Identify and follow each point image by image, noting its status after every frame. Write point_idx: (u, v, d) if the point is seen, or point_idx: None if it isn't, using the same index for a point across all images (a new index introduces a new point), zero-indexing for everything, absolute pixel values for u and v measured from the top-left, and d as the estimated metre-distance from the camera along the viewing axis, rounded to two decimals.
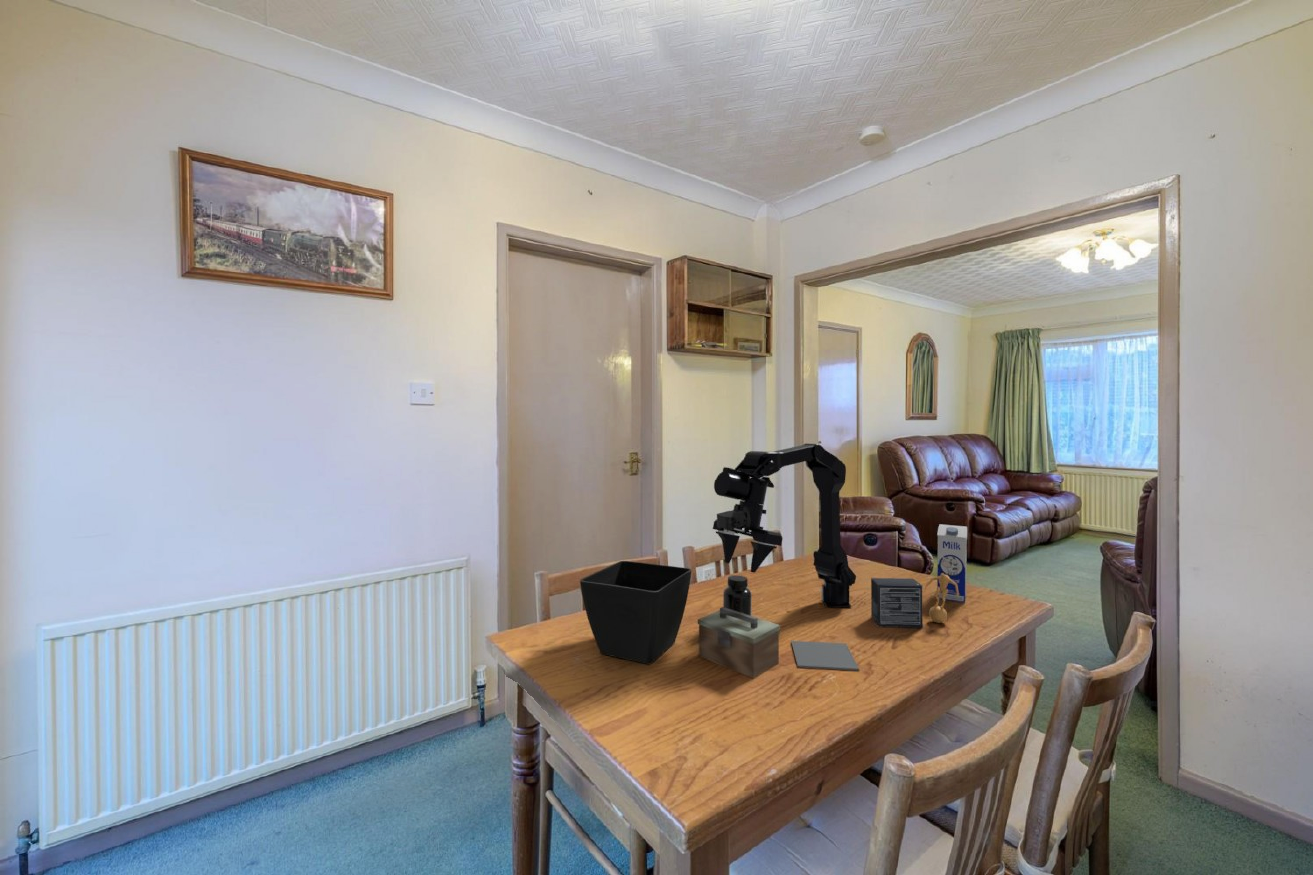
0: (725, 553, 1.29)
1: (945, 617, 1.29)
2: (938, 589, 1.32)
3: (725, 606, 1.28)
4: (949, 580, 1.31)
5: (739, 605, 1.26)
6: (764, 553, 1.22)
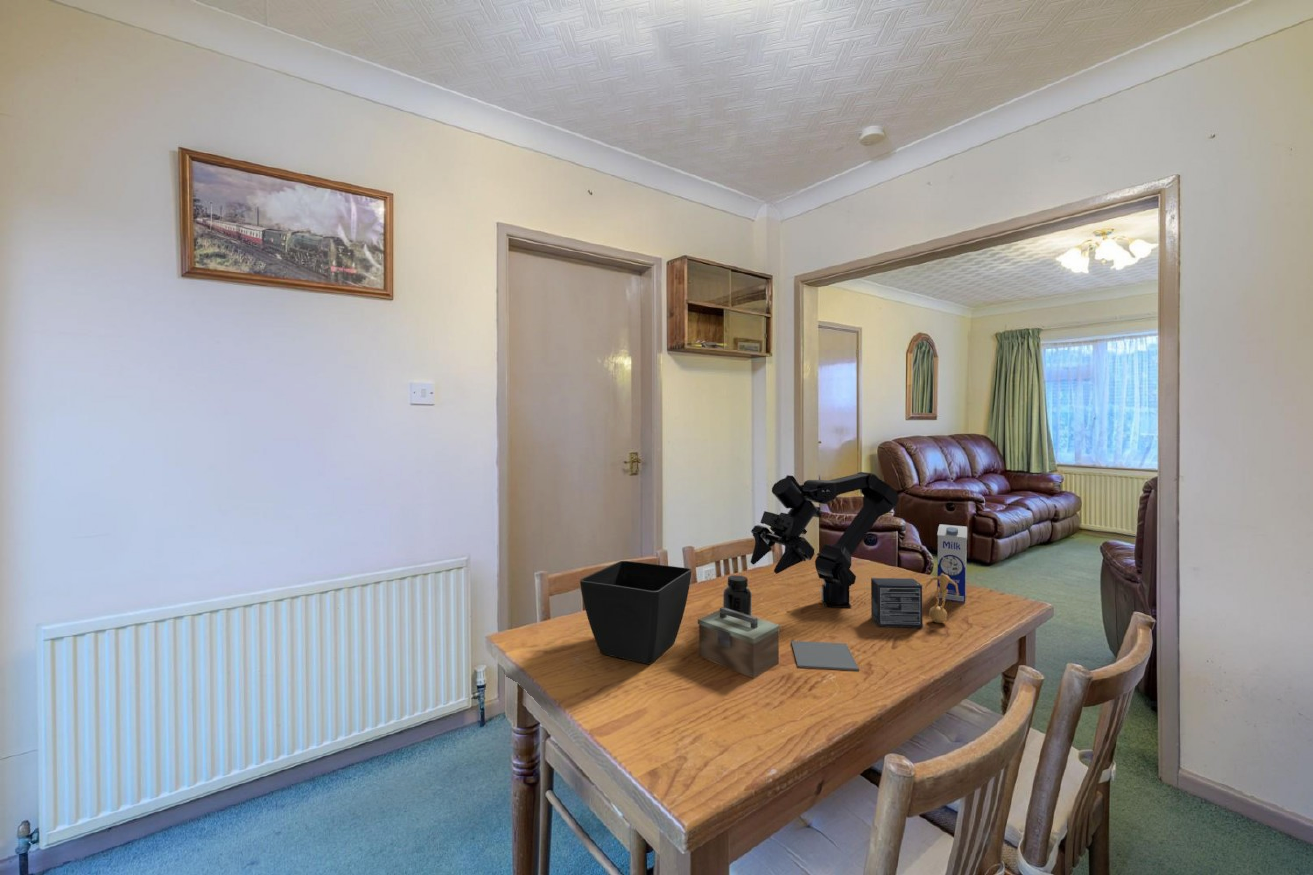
0: (754, 554, 1.37)
1: (945, 617, 1.29)
2: (938, 589, 1.32)
3: (725, 606, 1.28)
4: (949, 580, 1.31)
5: (739, 605, 1.26)
6: (792, 561, 1.29)
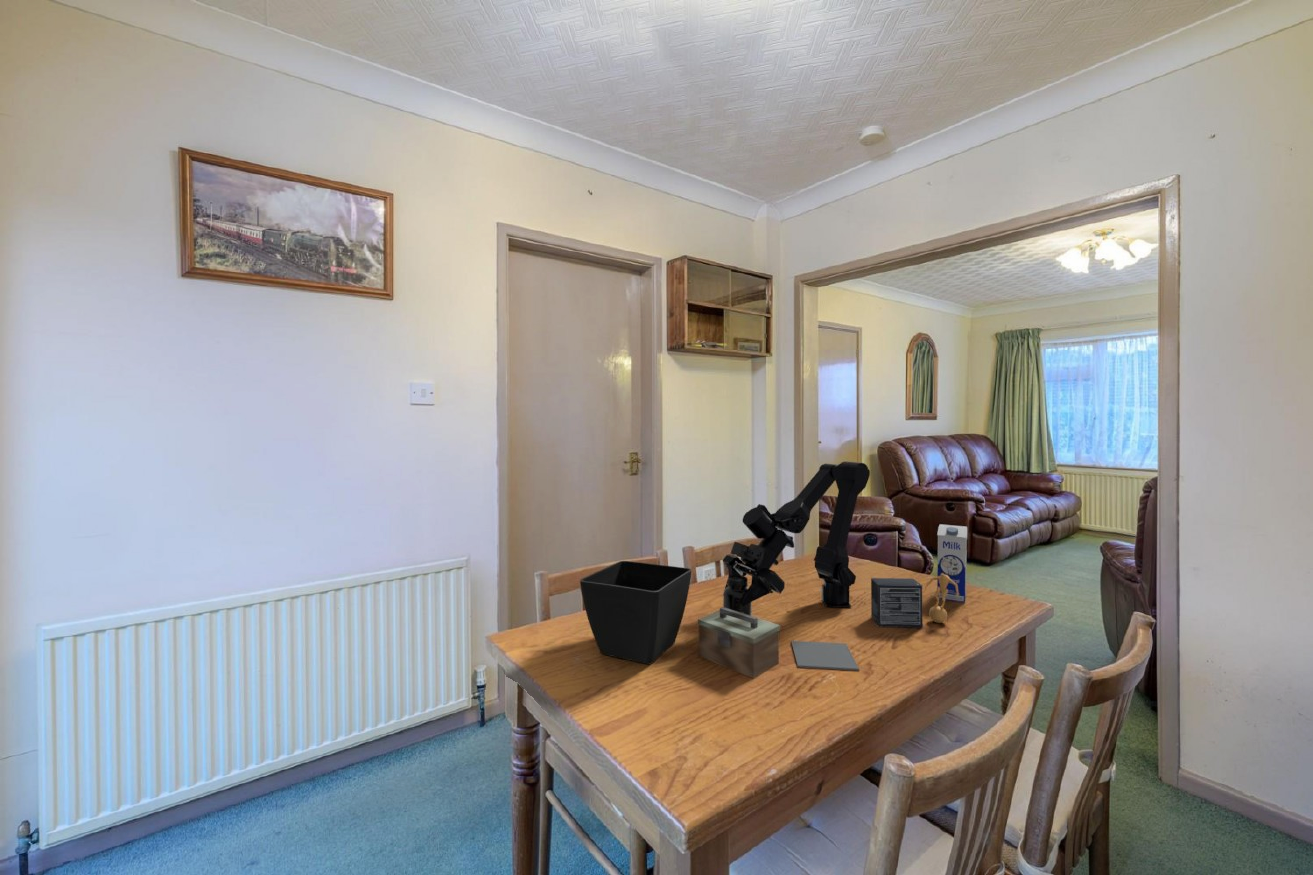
0: (726, 586, 1.32)
1: (945, 617, 1.29)
2: (938, 589, 1.32)
3: (725, 606, 1.28)
4: (949, 580, 1.31)
5: (739, 605, 1.26)
6: (759, 593, 1.26)
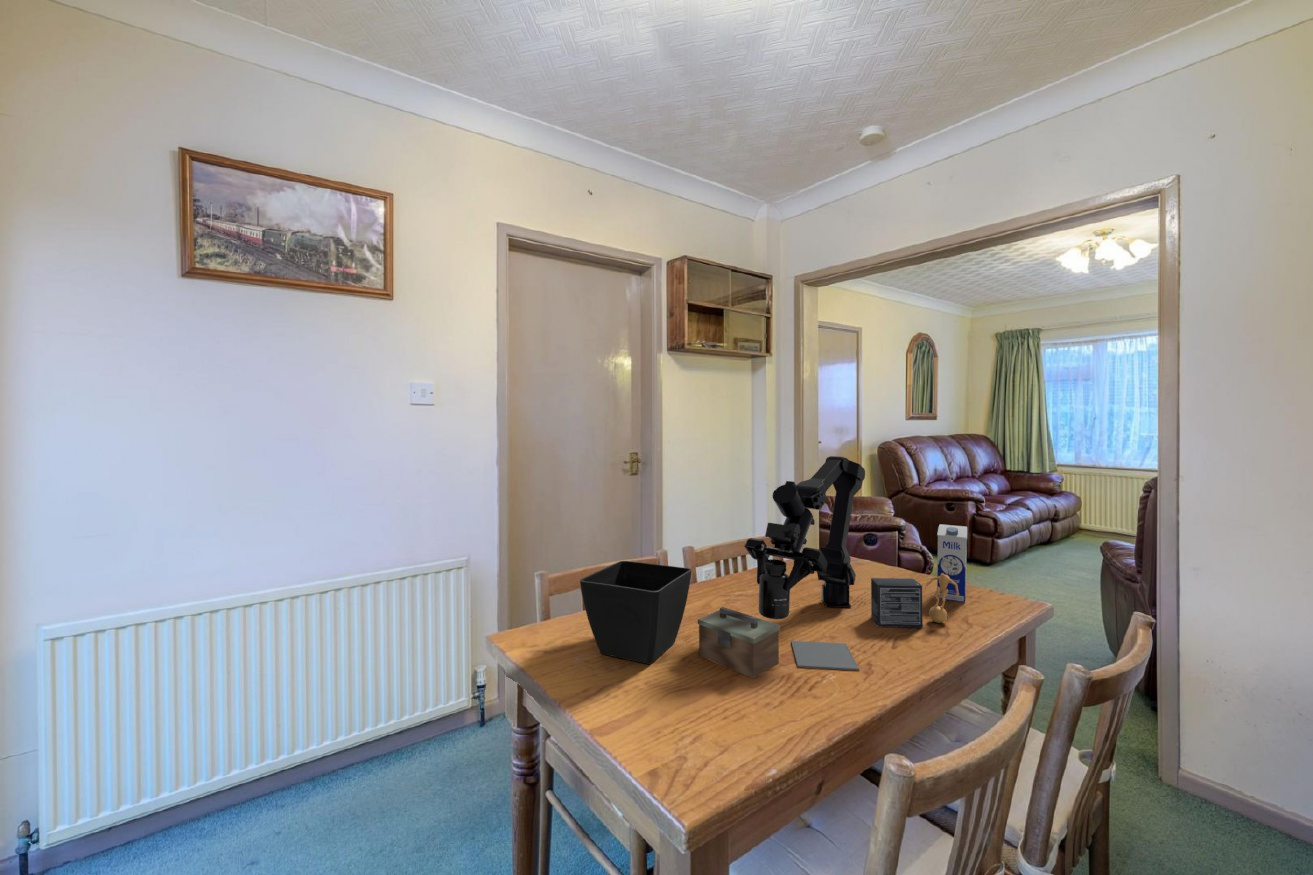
0: (759, 572, 1.21)
1: (945, 617, 1.29)
2: (938, 589, 1.32)
3: (766, 594, 1.17)
4: (949, 580, 1.31)
5: (783, 591, 1.16)
6: (801, 575, 1.18)
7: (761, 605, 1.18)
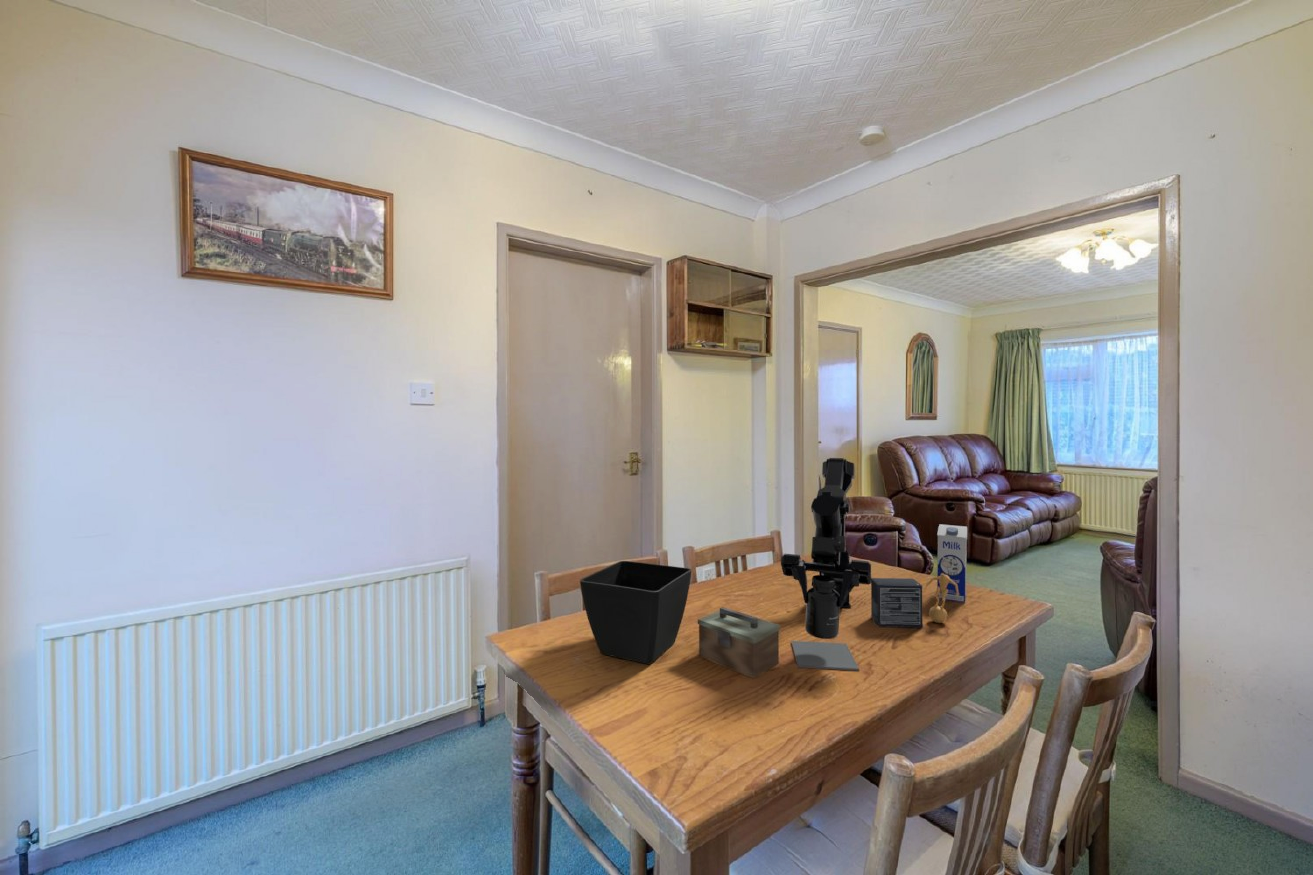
0: (805, 590, 1.14)
1: (945, 617, 1.29)
2: (938, 589, 1.32)
3: (820, 613, 1.10)
4: (949, 580, 1.31)
5: (837, 608, 1.10)
6: (848, 589, 1.13)
7: (813, 625, 1.11)
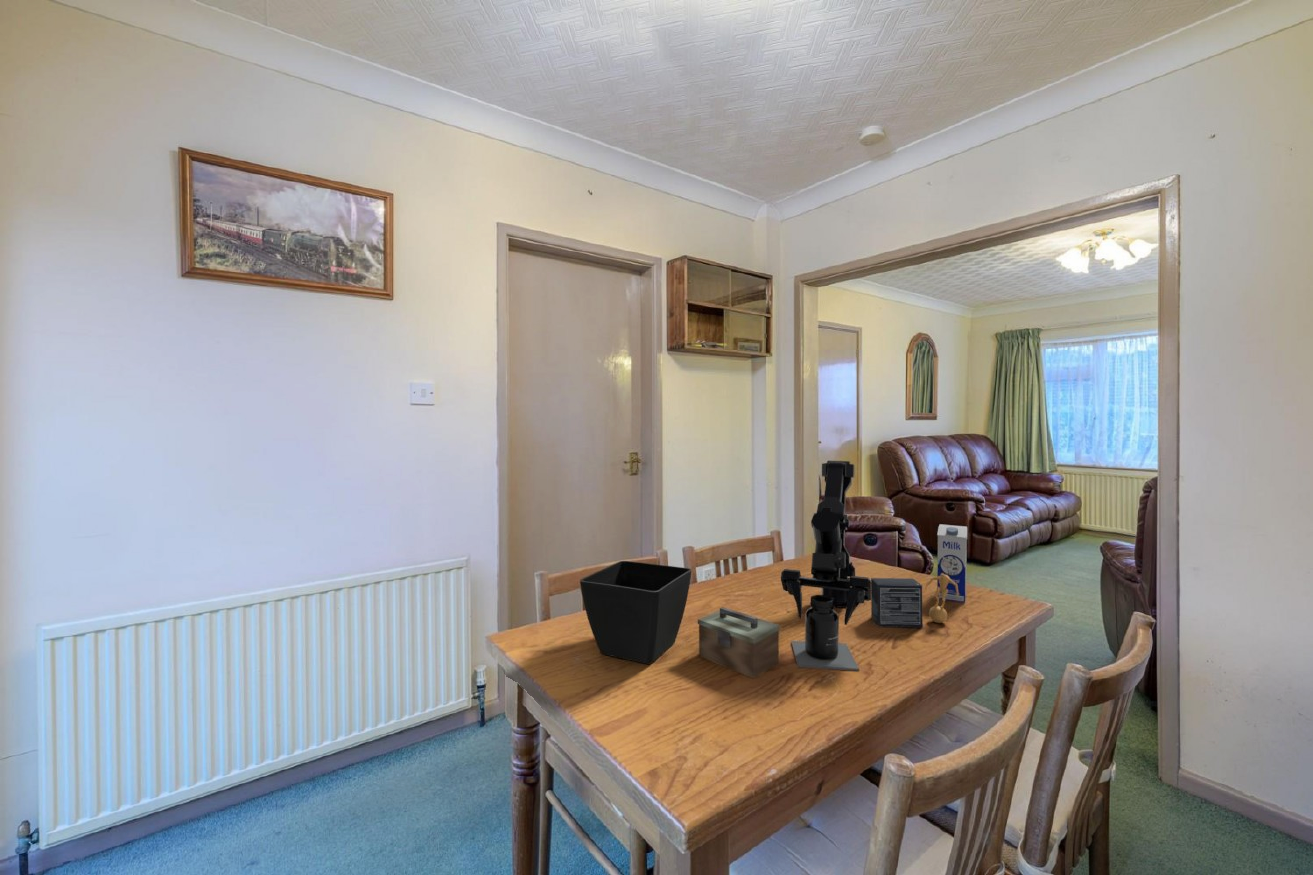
0: (799, 606, 1.14)
1: (945, 617, 1.29)
2: (938, 589, 1.32)
3: (819, 634, 1.10)
4: (949, 580, 1.31)
5: (836, 628, 1.11)
6: (854, 606, 1.13)
7: (813, 646, 1.11)
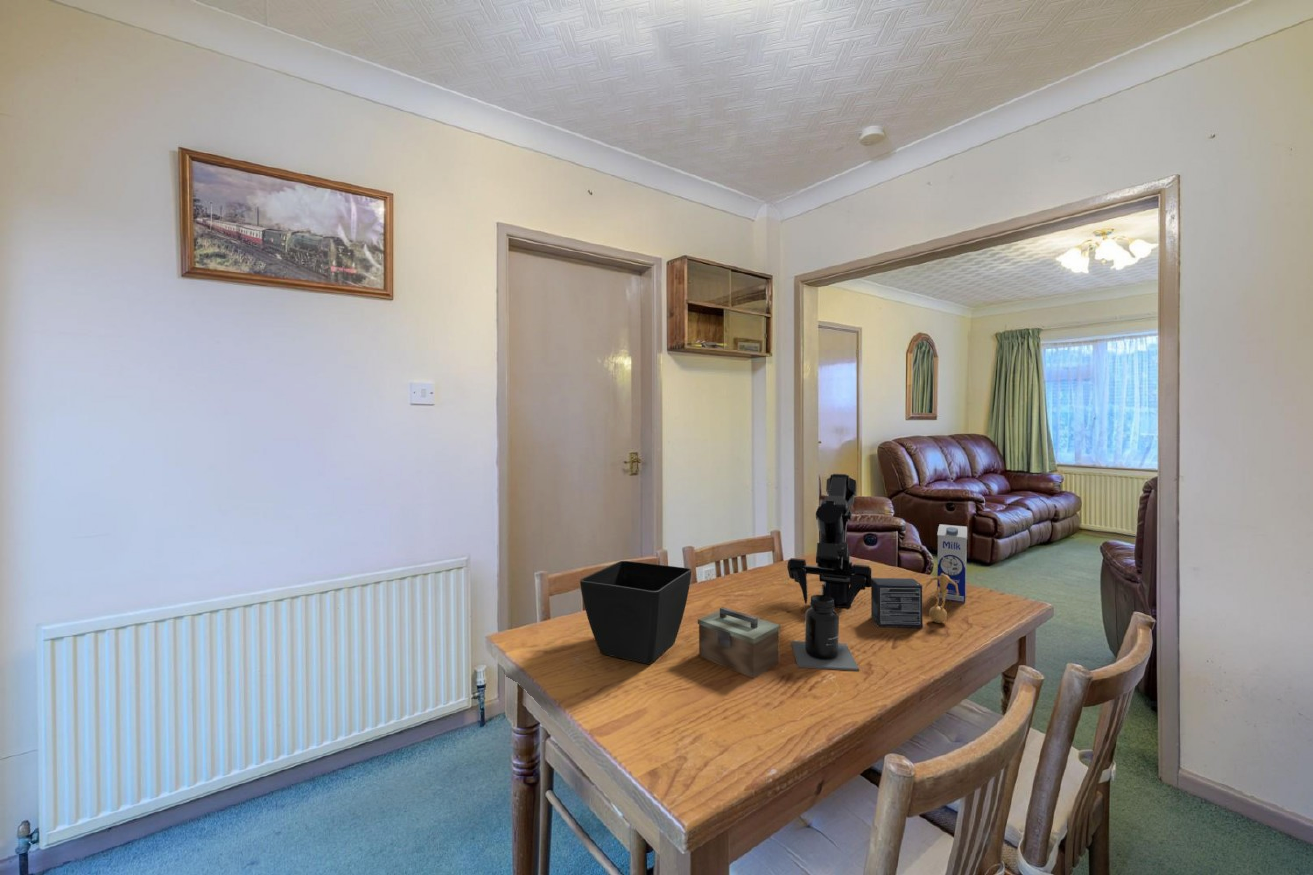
0: (805, 592, 1.23)
1: (945, 617, 1.29)
2: (938, 589, 1.32)
3: (819, 634, 1.10)
4: (949, 580, 1.31)
5: (836, 628, 1.11)
6: (855, 592, 1.22)
7: (813, 646, 1.11)
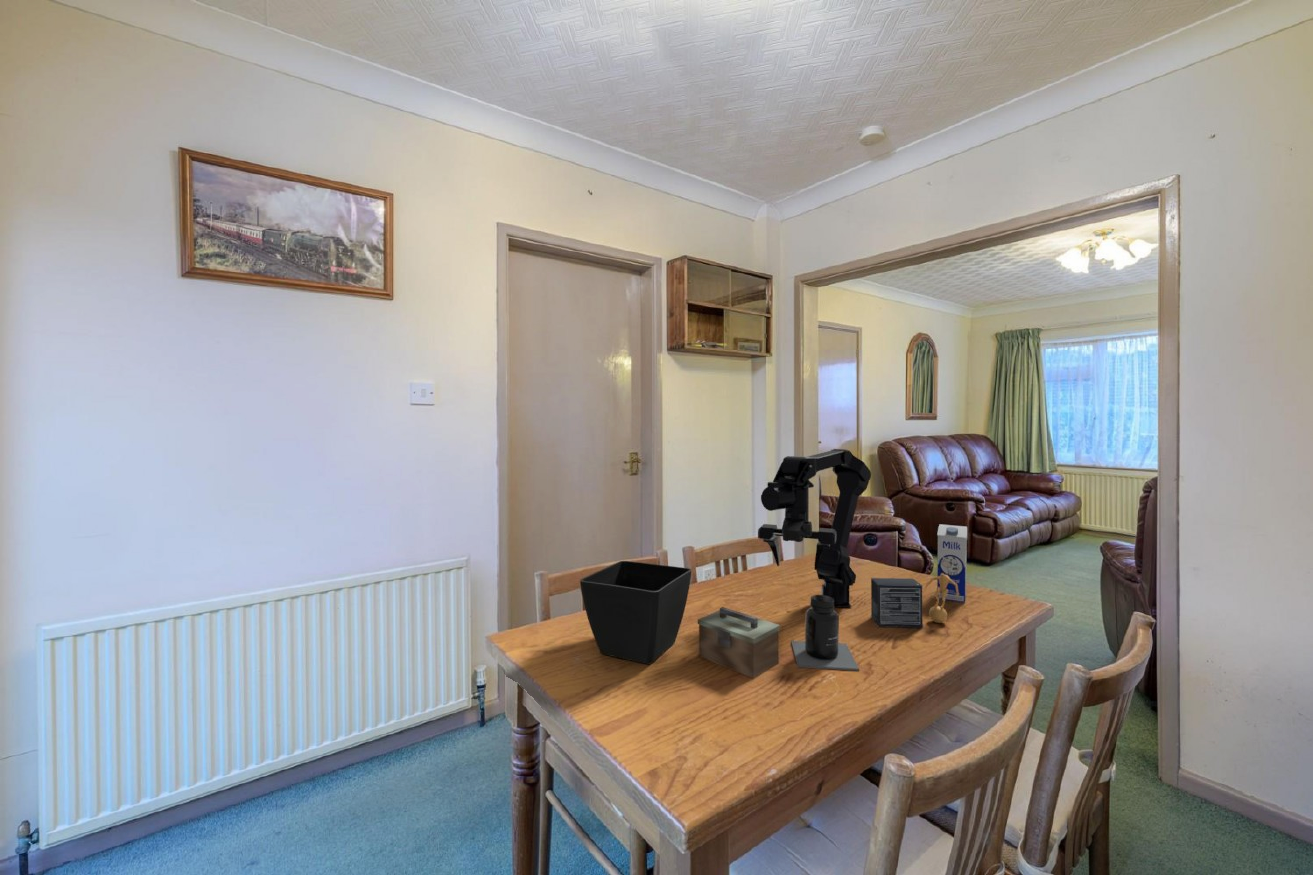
0: (776, 557, 1.35)
1: (945, 617, 1.29)
2: (938, 589, 1.32)
3: (819, 634, 1.10)
4: (949, 580, 1.31)
5: (836, 628, 1.11)
6: None
7: (813, 646, 1.11)
